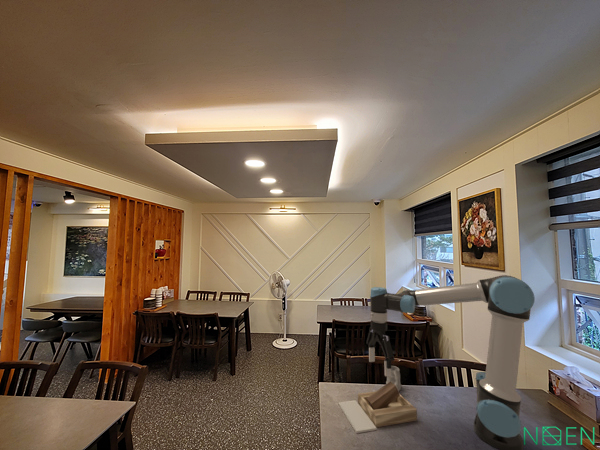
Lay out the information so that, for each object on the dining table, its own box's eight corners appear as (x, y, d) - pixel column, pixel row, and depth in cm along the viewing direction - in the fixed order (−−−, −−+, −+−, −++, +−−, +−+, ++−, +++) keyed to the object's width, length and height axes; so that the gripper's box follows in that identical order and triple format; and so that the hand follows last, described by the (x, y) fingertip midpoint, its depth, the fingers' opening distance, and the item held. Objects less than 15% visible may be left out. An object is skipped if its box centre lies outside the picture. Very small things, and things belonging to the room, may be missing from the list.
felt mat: (376, 430, 98) (376, 427, 98) (356, 433, 96) (356, 431, 96) (355, 401, 116) (355, 400, 117) (338, 404, 114) (338, 402, 114)
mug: (398, 384, 133) (397, 361, 134) (406, 396, 121) (405, 371, 123) (384, 383, 134) (384, 360, 135) (390, 395, 122) (390, 370, 123)
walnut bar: (400, 395, 110) (395, 385, 110) (375, 413, 106) (371, 403, 106) (394, 390, 114) (390, 381, 114) (371, 408, 110) (366, 398, 110)
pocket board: (417, 420, 104) (416, 409, 105) (375, 427, 100) (375, 415, 100) (394, 398, 120) (394, 388, 120) (357, 403, 115) (357, 393, 116)
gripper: (359, 314, 125) (359, 357, 123) (386, 329, 101) (387, 383, 98) (372, 313, 127) (372, 355, 124) (402, 328, 102) (403, 381, 100)
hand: (379, 368), depth 111 cm, fingers open, 13 cm apart
